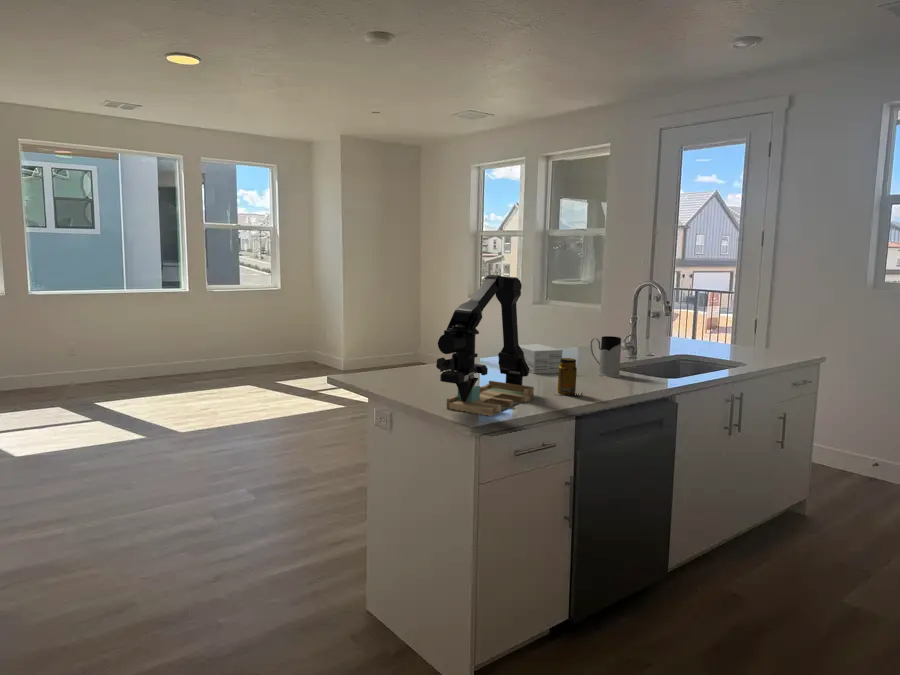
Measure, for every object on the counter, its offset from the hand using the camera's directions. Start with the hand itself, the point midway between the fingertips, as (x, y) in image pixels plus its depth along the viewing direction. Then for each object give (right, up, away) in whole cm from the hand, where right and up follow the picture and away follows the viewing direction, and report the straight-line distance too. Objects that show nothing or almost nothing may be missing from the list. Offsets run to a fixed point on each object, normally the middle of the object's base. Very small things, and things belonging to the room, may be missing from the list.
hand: (463, 401), depth 192 cm
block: (+2, 0, +5) cm, 5 cm away
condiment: (+36, 0, +26) cm, 44 cm away
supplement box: (+32, +6, +69) cm, 77 cm away
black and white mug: (+57, +4, +64) cm, 86 cm away
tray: (+9, -2, +8) cm, 12 cm away
